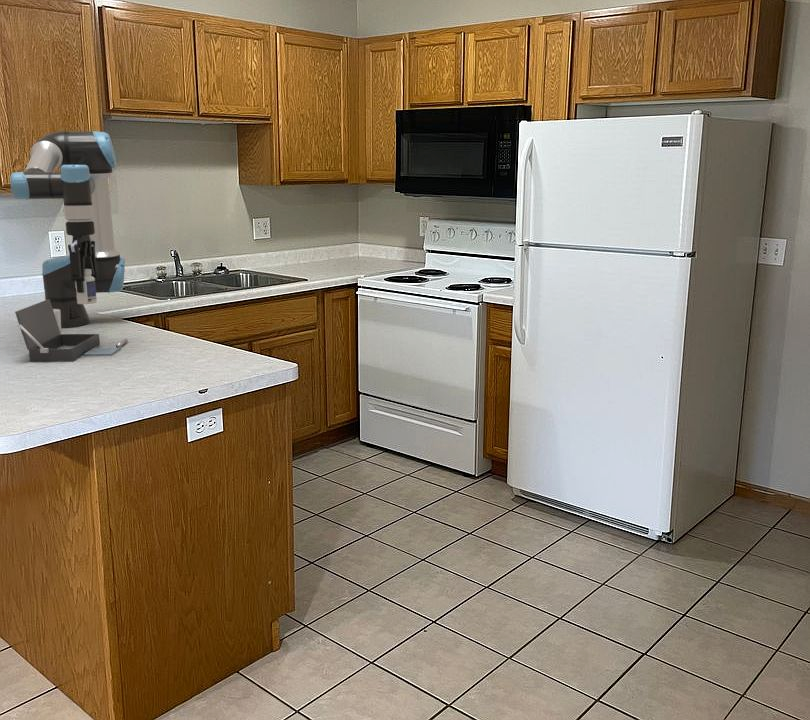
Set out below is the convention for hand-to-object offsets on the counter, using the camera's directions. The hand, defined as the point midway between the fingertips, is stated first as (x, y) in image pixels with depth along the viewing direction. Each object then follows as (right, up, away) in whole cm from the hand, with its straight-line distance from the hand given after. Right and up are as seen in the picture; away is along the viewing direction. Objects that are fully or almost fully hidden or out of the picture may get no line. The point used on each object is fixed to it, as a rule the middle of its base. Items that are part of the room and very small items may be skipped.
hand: (87, 302), depth 235 cm
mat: (+3, -15, +4) cm, 15 cm away
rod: (+5, -12, +14) cm, 19 cm away
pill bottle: (0, -1, 0) cm, 1 cm away
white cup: (-19, -12, +18) cm, 29 cm away
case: (-9, -15, +3) cm, 17 cm away
